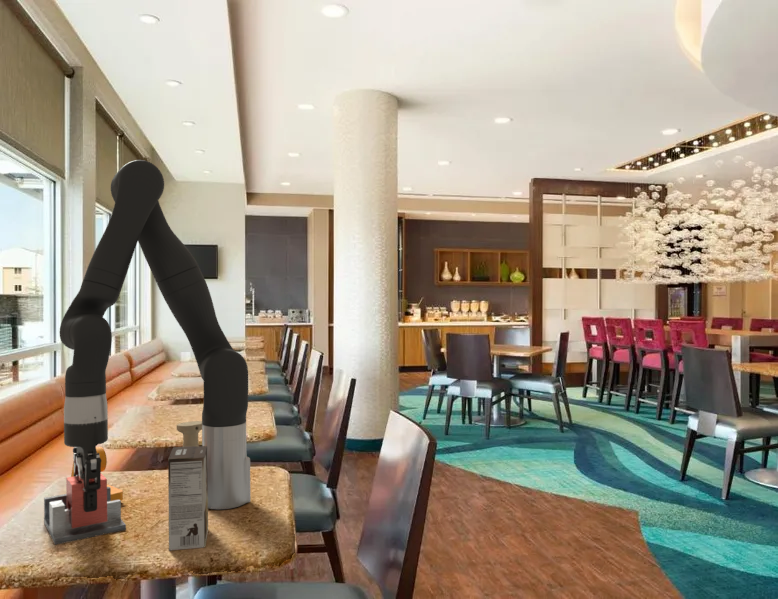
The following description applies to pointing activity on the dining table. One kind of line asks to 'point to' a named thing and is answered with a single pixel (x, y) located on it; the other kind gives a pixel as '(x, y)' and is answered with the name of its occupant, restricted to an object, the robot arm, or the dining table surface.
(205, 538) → the coffee box
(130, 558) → the dining table surface
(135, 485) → the dining table surface
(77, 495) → the block
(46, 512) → the bracket
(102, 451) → the bracket
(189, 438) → the handle
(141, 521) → the dining table surface
